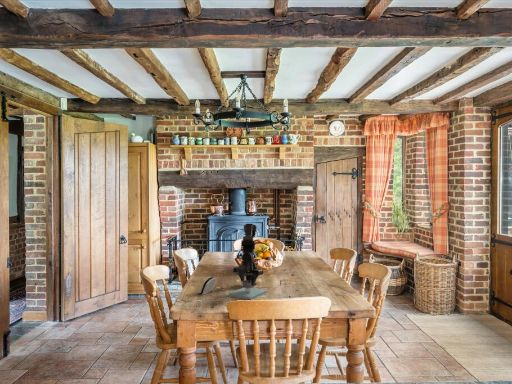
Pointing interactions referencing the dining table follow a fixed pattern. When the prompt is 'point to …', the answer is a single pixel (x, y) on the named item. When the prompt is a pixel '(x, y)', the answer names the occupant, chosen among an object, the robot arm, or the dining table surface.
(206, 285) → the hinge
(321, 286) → the dining table surface
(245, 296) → the piston plate
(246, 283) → the ring
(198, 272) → the dining table surface
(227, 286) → the dining table surface
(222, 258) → the dining table surface
